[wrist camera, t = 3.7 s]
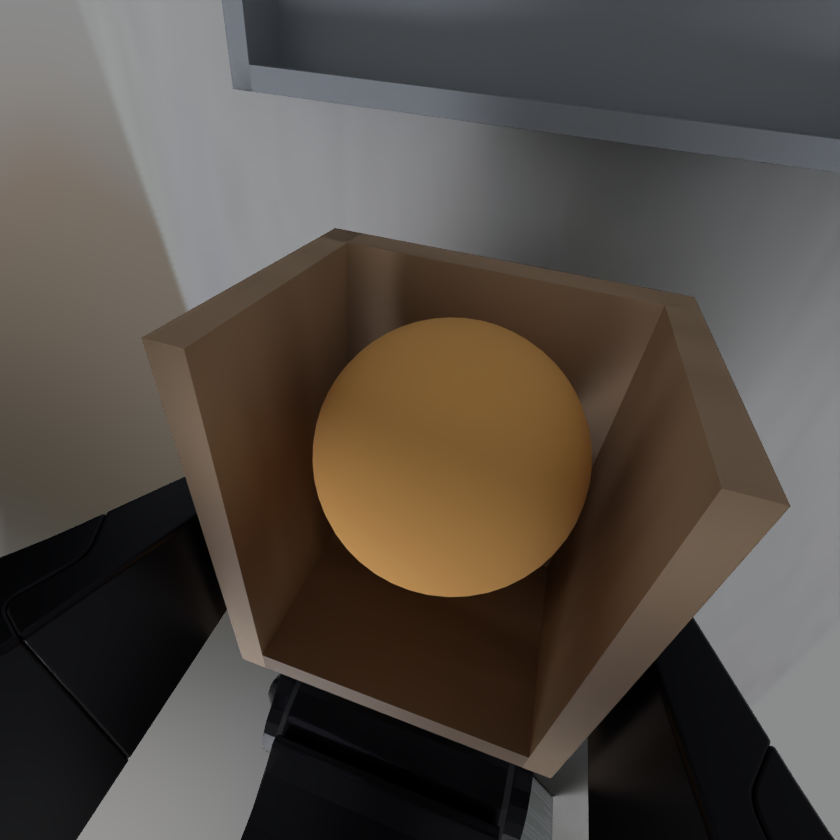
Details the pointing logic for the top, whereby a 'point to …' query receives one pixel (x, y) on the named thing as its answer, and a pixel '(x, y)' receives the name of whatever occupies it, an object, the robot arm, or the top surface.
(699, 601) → the scoop
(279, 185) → the top surface
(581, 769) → the top surface
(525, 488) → the ball
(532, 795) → the skincare box
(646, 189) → the top surface
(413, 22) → the tray
